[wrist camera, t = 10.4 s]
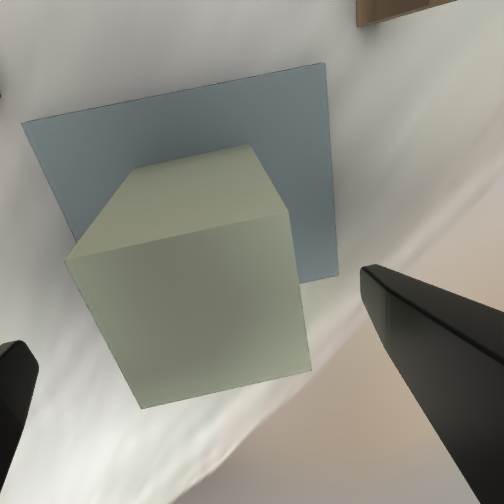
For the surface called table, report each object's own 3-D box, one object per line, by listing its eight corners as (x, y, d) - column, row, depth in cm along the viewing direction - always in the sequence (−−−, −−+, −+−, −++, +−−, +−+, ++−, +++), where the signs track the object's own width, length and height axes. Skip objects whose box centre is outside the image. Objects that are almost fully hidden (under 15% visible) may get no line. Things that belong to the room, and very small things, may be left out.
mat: (321, 62, 14) (325, 62, 13) (335, 270, 19) (338, 275, 18) (26, 121, 14) (20, 123, 13) (116, 316, 18) (114, 322, 18)
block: (249, 143, 15) (288, 210, 8) (268, 246, 17) (311, 370, 10) (133, 168, 15) (63, 260, 7) (168, 268, 17) (141, 409, 10)
